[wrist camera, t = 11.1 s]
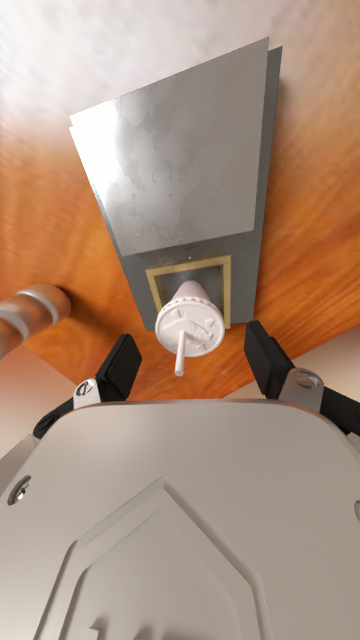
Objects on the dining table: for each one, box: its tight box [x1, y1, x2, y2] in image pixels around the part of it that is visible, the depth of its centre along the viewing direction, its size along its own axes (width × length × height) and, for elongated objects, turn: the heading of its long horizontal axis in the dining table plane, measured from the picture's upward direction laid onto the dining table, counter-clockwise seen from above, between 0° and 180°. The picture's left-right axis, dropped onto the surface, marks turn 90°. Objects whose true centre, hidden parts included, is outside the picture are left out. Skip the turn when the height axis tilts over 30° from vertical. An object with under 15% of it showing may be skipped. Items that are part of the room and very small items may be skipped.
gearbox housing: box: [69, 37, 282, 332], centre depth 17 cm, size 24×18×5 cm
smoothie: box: [155, 280, 225, 376], centre depth 15 cm, size 6×6×14 cm
